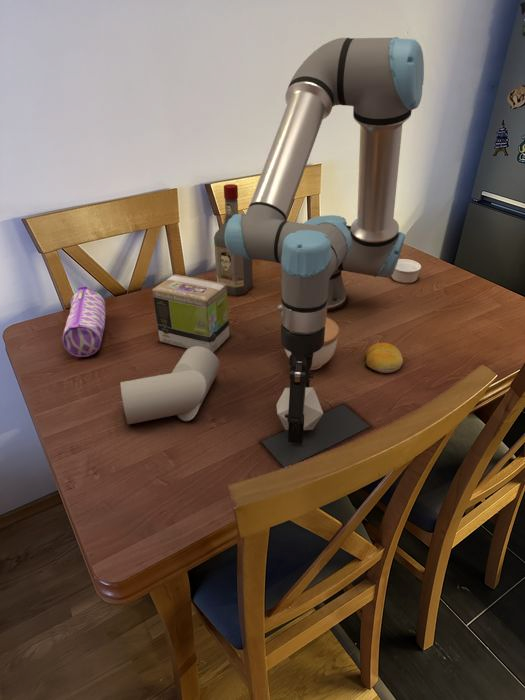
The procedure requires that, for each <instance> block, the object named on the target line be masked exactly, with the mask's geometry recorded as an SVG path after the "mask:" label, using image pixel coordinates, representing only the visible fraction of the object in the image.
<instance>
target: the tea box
mask: <svg viewBox="0 0 525 700" xmlns="http://www.w3.org/2000/svg"><path fill="white" fill-rule="evenodd" d="M151 291H152V298H153V305H154V312H155V318H156V325H157V326H156V327H157V332H158V338H159V342H161V343H165V344H168V345H172V346H176V347H179V348H184V349H186V350H187V349H189V348H191V347H195V346H199V347H204V348H206V349H208V350H210V351H211V352H213V353H214V352H216V351H217V350H218V348H220V347H221V345H222V344H224V342H225V341H226V340H227V339H228V338H229V337H230V315H229V302H228V300H229V299H228V294H227V285H226V284H224V283H219V282H217V281H213V280H207V279H203V278H197V277H192V276H187V275H180V274H177V273H173V275H171V276H170V277H168V278H167V279H166V280H164V281H162V282H161V283H160V284H158V285H156V286H154V287H153V288H152V289H151Z"/></svg>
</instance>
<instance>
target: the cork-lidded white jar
mask: <svg viewBox="0 0 525 700" xmlns="http://www.w3.org/2000/svg"><path fill="white" fill-rule="evenodd" d="M339 334H340V328H339V325H338V324H337V323H336V321H334V320H333V319H332V318H329V317H328V316H326V324H325V337H324V345H323V347H322V348H321V349H320V350H318V351H317V352H314V353H313V358H312V366H311V369H310V371H313V370H318V369H320V368H321V367H323V366H324V365H326V364H327V363H328V362H329V361H330V360H331V359H332V358H333V356H334V354H335V352H336V349H337V345H338V340H339ZM283 348H284V347H283ZM284 351H285V355H286V356H287V358H288V360H289V359H290V355H291V352H290V351H288V350H286V349H285V348H284Z"/></svg>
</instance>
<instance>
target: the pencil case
mask: <svg viewBox="0 0 525 700" xmlns="http://www.w3.org/2000/svg"><path fill="white" fill-rule="evenodd" d="M68 305H69V309H70V310H69V314H68V316H67V319H66V323H65V327H64V329H63V332H62V333H63V334H62V344H63V347H64V349H65V350H66V352H67V353H69V354H70V355H71V356H73V357H76V358H88V357H91V356H93V355H94V354H96V353H97V352H98V351H99V350H100V348H101V344H102V340H103V335H104V332H105V327H106V317H107V316H106V315H107V314H106V301H105V299H104V298H103V296H102V295H101V294H99V293H98V292H96V291H94V290H90V289H89V288H88V287H87V285H83V286H82V285H81V286H78V287H77V291H76V292H75V293H74V294H73V295H72V297H71V299H70V301H69V302H68Z"/></svg>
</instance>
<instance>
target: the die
mask: <svg viewBox="0 0 525 700" xmlns="http://www.w3.org/2000/svg"><path fill="white" fill-rule="evenodd" d="M289 394H290V387H285V388H284V389H283V391H282V393H281V395H280V396H279V399H278V401H277V403H276V413H277V417H278V418H279V420H280V423H281V424H282V426H283V428H284V431H285V430H288V428H289V423H288V420H287V418H285V414H288V410H289ZM323 413H324V410H323V408H322V406H321V403H320V401H319V398H318V395H317V393H316V391H315V388H314V387H311V386H309V387H306V389H305V401H304V412H303V414H304V430H313V429H314V427H315V425H316V424H317V422H318V421H319V419H320V418H321V416H322V415H323Z"/></svg>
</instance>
